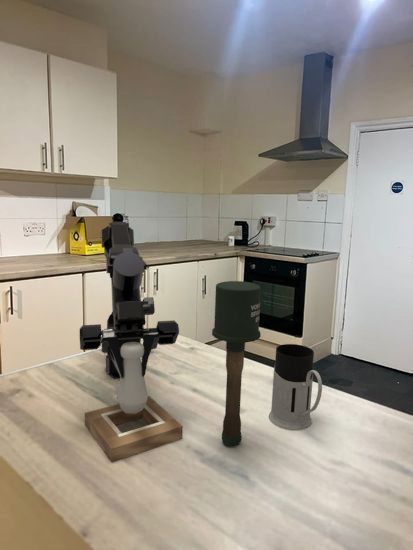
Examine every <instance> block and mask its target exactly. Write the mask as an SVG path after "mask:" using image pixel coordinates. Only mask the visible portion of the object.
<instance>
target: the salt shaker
mask: <svg viewBox="0 0 413 550" xmlns="http://www.w3.org/2000/svg"><path fill="white" fill-rule="evenodd" d="M120 352H121V356H122V357H123V358H124V359H123V374H124V377H123V378H122V379H121V377H119V383H118V389H117V396H116V399H117V404H119V405H120V407H121V409H122V410H123V411H124V412H125V413H133V414H136V413H138V412H140V411H142V410H143V408H144V406H145V404H146V402H147V398H148V396H149V394H148V388H147V384H146V380H145V376H144V377H143V376H142V364H141V363H142V356H143V354H144V346H143V343H139V342H127V343H124V344H123V345H122V346H121V350H120Z"/></svg>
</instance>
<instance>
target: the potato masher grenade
mask: <svg viewBox="0 0 413 550" xmlns="http://www.w3.org/2000/svg"><path fill="white" fill-rule="evenodd" d="M261 291H262V289H261V286H260V285H259V284H257V283H254V282H249V281H240V280H229V281H226V280H225V281H221V282H218V283H216V285H215V297H214V300H215V302H214V325H213V326H214V327H213V328H212V330H211V335H212V336H213V338H215V339H216V340H220V341H223V342H226V343H225V344H226V345H225V350H226V351H225V352H226V353H225V354H226V355H225V367H226V389H225V413H224V417H223V422H222V432H221V441H222V444H224V445H225V447H228V448H235V447H238V446H239V445H240V443H241V441H242V439H243V438H242V421H241V419H242V418H241V397H242V396H241V393H242V378H243V376H242V375H243V370H244V362H245V349H246V344H247V343H252V342H255V341H257V340H259V339H260V338H261V334H262V333H261V331H260V315H261V314H260V312H261V294H262V293H261Z"/></svg>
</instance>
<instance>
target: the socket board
mask: <svg viewBox="0 0 413 550" xmlns="http://www.w3.org/2000/svg"><path fill="white" fill-rule="evenodd" d="M138 419H143V420H144V421H145V422H146V423H147V424H148V425H145V426H141V427H138V428H135V429H132V430H129V431H125V432H122V431H120V430H119V428H118V427H117V425H120V424H123V423H127V422H131V421H134V420H138ZM84 425H85V427H86V428H87V429H88V431H89V432H90V434H91V435H92V437H93V438H94V440H95V441H96V442H97V444H98V445H99V446H100V448H101V450H102V451H103V452H104V454H105V455H106V457H107V458H108V459H109V461H110V462H111V463H113V462H116V461H118V460H122V459H125V458H127V457H128V458H129V457H131V456H134V455H137V454H140V453H143V452H146V451H149V450H152V449H156V448H158V447H160V446H164V445H166V444H169V443H172V442H174V441H175V442H176V441H178V440H181V439H183V434H184V432H183V427H184V426H183V425H182V424H181V423H180V422H179V421H178V420H177V419H176V418H175V417H173V416H172V415H171V414H170V413H169V412H168V411H167V410H166V409H164V407H162V406H161V405H160V404H159V403H158V402H157V401H156V400H154V399H153V398H152V397H151V396H150V395H148V398H147V402H146V404H145V406H144V408H143V410H142V411H140V412H138V413H136V414H133V413H125V412H124V411H123V410H122V409H121V407H120V405H119V403H117V404H113V405H109V406H107V407H102V408H99V409H95V410H90V411H87V412H84Z"/></svg>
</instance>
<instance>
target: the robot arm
mask: <svg viewBox="0 0 413 550" xmlns="http://www.w3.org/2000/svg"><path fill="white" fill-rule="evenodd" d="M100 235H101V241H100V242H101V248H103V249H104V251H103V252H104V257H105V266H106V267H105V268H106V269H105V270H106V274H109V278H110V280H111V281H110V282H111V307H112V308H111V309H112V312H111V313H110V314H109V316H108V318H107V321H106V328H104V329H102V324H84V325H83V324H82V325H81V326H80V328H79V346H80V347H79V350H82V351H90V350H92V351H94V350H98V349H99V348H100V347H101V352H102V353H105V354H106V355H105V369H104V370H105V371H106V372H107V373H108V374H109V375H110V376H111V377H112V379H120V377H121V379H122V378H123V377H124V374H123V359H124V358H123V357H122V356H121V352H120V350H121V346H122V345H123V344H124V343H127V342H139V343H141V342H142V343H141V344H142V345H143V346H144V354H143V356H142V357H141V364H142V376H143V377H144V378H145V376H146V370H147V366H148V363H149V357H150V355H151V352H152V350H155V349H157V348H158V345H159V346H164V345H165V346H166V345H173V344H176V341H177V339H178V336H179V334H180V327H179V324H178V323H177V321H176V320H175V319H174V320H160V321H157V323H156V326H155V327H149V328H146V327H144V326H146V322H147V321H146V316H151V315H152V316H153V315H154V314H155V313H156V312H155V311H156V310H155V301H154V299H155V298H154V297H153V296H147V297H143V298H142V299H141V297H142V296H141V286H142V280H143V274H144V273H145V270H146V271H147V270H148V264H147V263H146V262H145V260H144V259H143V257H142V256H141V255H140V253H139V250H138V249H137V248H136V247H134V244H135V240H134V239H135V238H134V237H135V234H134V229H133V228H131V227H130V224H129V222H127V221H111V222H108V225H107V226H106V227H105V228H103V229H101V234H100Z"/></svg>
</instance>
